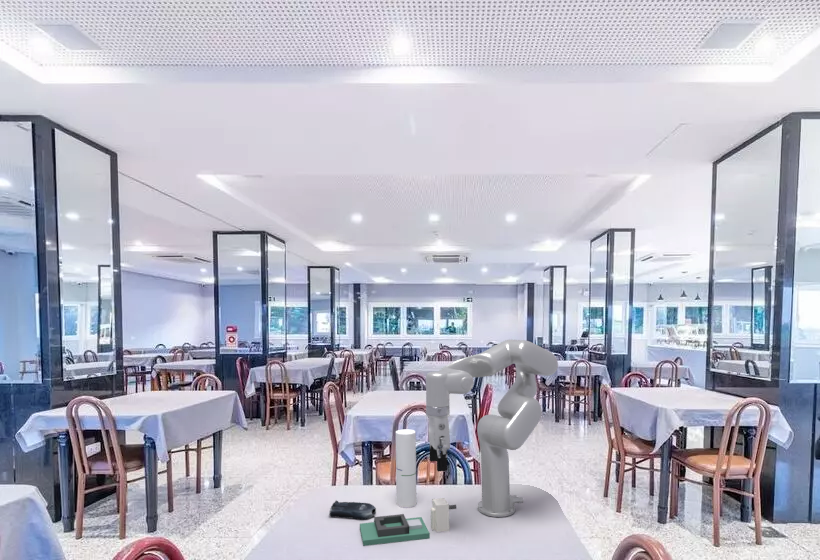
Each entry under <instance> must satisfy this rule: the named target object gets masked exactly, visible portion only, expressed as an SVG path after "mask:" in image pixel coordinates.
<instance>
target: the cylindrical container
mask: <svg viewBox="0 0 820 560" xmlns="http://www.w3.org/2000/svg"><path fill="white" fill-rule="evenodd" d="M416 437H417V435H416V430H414V429H410V428H409V429H408V428H406V429H405V428H404V429H398V430H396V431H395V485H396V489H395V490H396V494H395V495H396V497H395V499H396V500H395V501H396V505H397V506H398V507H400V508H403V509H405V508H406V509H410V508H413V507H415V506H416V505H417V445H416V444H417V442H416V441H417V439H416Z"/></svg>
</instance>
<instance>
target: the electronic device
mask: <svg viewBox="0 0 820 560" xmlns="http://www.w3.org/2000/svg"><path fill="white" fill-rule="evenodd" d="M376 513H377V508H376V506H374V505H373V504H371V503H368V502H360V501H359V502H355V501H353V502H352V501H350V502H349V501H343V502H341V501H340V502H339V500H337V499H336V500H335V501H334V502H333V503H332V505H331V506H330V508H329V514H328V516H330V517H331V518H335V517H336V518H346V519H347V518H348V519H355V520H361V521H362V520H370V519H371V518H374V517H376Z"/></svg>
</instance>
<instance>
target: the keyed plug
mask: <svg viewBox="0 0 820 560" xmlns="http://www.w3.org/2000/svg"><path fill="white" fill-rule="evenodd" d="M431 502H432V507H430V529H431V530H432V531H435V532H436V533H444V532H450V510H456V509H457V504H449V503H448V501H447V499H446V498H445V497H442V498H441V497H440V498H433V499H432V501H431Z"/></svg>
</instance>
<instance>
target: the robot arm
mask: <svg viewBox="0 0 820 560" xmlns="http://www.w3.org/2000/svg"><path fill="white" fill-rule="evenodd" d="M513 364H514V366H515V374H516V376H515V380H514V382H513V384H512V385H511V386H510V387H509V388H508V390H507V391H506V393H505V394H504V396H503V397H502V398H501V399H500V400H499V402H498V404H497V405H498V406H497V412H498V414H499V415H496V414H486V415H483V416H482V417H481V418H480V419H479V420H478V423H477V427H476V430H477V437H478V441H479V447H480V470H481V471H480V472H481V474H480V475H481V480H480V481H481V500H480V501H479V502H477V510H478V511H479V512H480V513H481V514H483V515H485V516H489V517H494V518H504V517H505V518H506V517H508V516H512V515H513V514H514V513H515V512H516V511H515V510H516V506H515V505H516V504H521V503H524V502H525V501H524V497H523V496H517V495H516V494H512V495H511V491H510V490H511V489H510V488H511V487H510V457H509V452H508V450H509V451H516V450H518V449H520V448H521V447H522V446H523V445H524V443H525V442H526V441H527V440H528V438H530V435H531V434H532V433H533V431H534V430H535V428H536V427H537V426H538V424H539V422H540V420H541V417H542V410H543V408H542V405H541V403H540V402H539V400H537V399H536V398H535V396H536V393H537V391H538V388H537V387H538V386H537V382H536V381H537V380H536V376H535V375H537V376H544V377H548V376H551V375H554V374H555V373H556V372H557V370H558V369H559V368H558V366H559V363H558V359H557V357H556V356H555V354H554V353H553V352H551V351H549V350H548V349H545V348H544V347H541V346H540V345H538V344H535V343H534V342H531V341H530V340H524V339H505V340H503V341H501V342H500V343H498V344H495V345H493V346H492V347H490V348H488V349H486V350H484V351H482V352H480V353H477V354H473V355H470V356H467V357H463V358H461V359H457V360H455V361H452V362H450V363H449V364H447V365H445V366H443V367H442V368H441V369H439V370H438V371H429V372H427V374H426V376H425V416H426V417H428V443H429V461H430V462H436V471H437V472H447V471H448V450H450V449H451V439H450V423H449V417H451V416H450V414H451V412H450V411H451V410H450V395H451V394H454V395H464V394H467V393H469V392H470V391H471V390H473V387H474V384H475V383H474V379H475V378H483V377H484V378H485V377H486V378H487V377H491V376H494V375H496V374H497V373H499V372H501V371H502V370H505V369H506V368H508V367H510V366H511V365H513Z"/></svg>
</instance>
